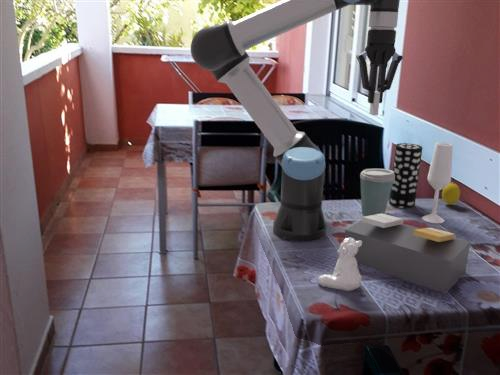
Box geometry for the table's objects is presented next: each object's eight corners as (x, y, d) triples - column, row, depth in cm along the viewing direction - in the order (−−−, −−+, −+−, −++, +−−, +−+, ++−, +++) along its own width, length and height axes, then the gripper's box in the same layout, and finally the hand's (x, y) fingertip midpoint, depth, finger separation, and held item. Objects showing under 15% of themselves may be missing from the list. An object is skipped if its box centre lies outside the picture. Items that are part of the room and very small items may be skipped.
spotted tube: (414, 201, 169) (422, 144, 163) (414, 209, 162) (422, 150, 155) (389, 198, 172) (396, 142, 165) (388, 206, 164) (394, 147, 158)
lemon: (437, 202, 169) (441, 180, 167) (453, 202, 170) (456, 179, 167) (445, 207, 164) (448, 185, 162) (461, 207, 165) (464, 184, 162)
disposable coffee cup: (350, 217, 154) (355, 171, 149) (362, 207, 162) (366, 163, 158) (384, 225, 148) (389, 177, 144) (394, 214, 157) (400, 169, 152)
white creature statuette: (340, 271, 120) (345, 225, 116) (371, 285, 114) (376, 237, 110) (315, 284, 114) (318, 236, 110) (346, 299, 108) (350, 248, 104)
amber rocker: (429, 232, 123) (430, 227, 123) (454, 239, 120) (455, 233, 119) (412, 234, 114) (414, 229, 114) (438, 242, 110) (440, 236, 110)
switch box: (368, 241, 137) (371, 214, 134) (465, 271, 121) (470, 241, 118) (342, 258, 126) (345, 229, 124) (445, 293, 111) (450, 261, 108)
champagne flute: (449, 221, 152) (461, 145, 145) (432, 224, 150) (443, 147, 142) (433, 214, 158) (444, 140, 151) (417, 216, 156) (427, 142, 148)
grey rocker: (381, 218, 131) (382, 213, 131) (402, 223, 127) (404, 218, 127) (361, 221, 122) (362, 216, 121) (384, 227, 118) (385, 222, 118)
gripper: (399, 29, 140) (389, 112, 147) (354, 28, 138) (347, 112, 145) (410, 29, 133) (400, 116, 140) (364, 28, 131) (356, 116, 138)
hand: (373, 114), depth 143 cm, fingers closed
